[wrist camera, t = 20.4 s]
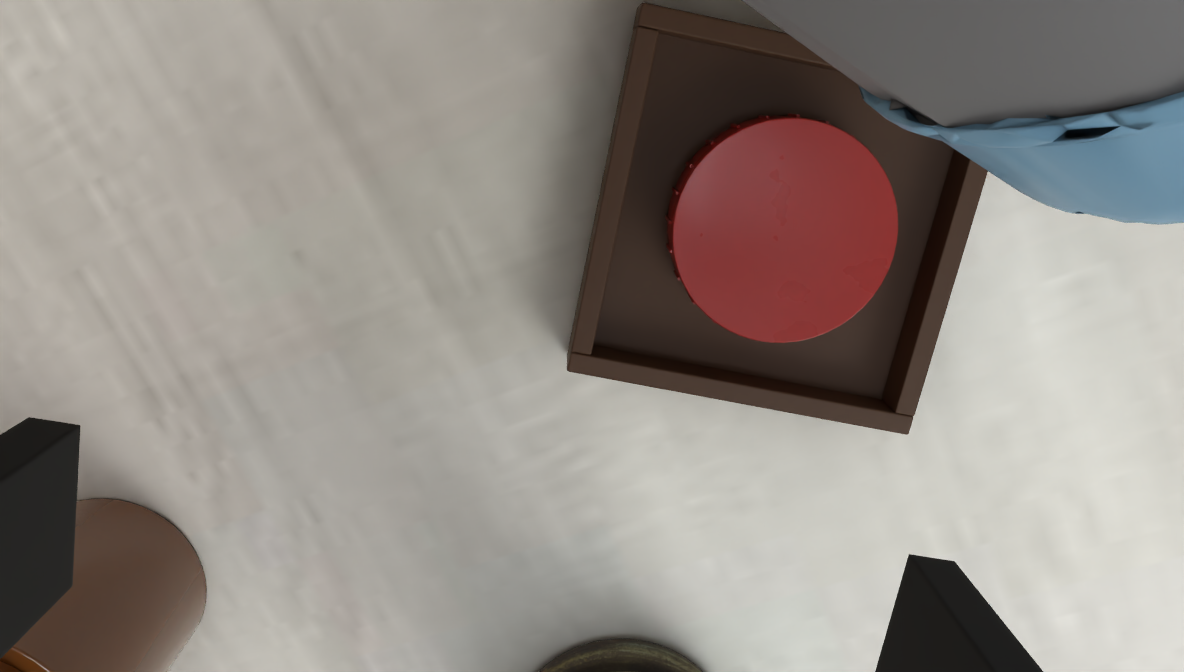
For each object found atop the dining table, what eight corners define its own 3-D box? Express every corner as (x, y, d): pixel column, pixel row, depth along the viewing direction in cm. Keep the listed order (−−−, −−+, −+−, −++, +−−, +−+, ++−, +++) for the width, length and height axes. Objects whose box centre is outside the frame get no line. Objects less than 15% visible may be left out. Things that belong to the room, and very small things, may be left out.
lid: (847, 349, 34) (862, 365, 32) (643, 306, 33) (647, 320, 31) (909, 140, 32) (929, 144, 30) (694, 91, 32) (702, 92, 30)
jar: (22, 482, 35) (-206, 647, 25) (216, 515, 35) (72, 691, 25) (12, 649, 37) (-204, 869, 26) (197, 679, 37) (55, 905, 27)
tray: (637, 6, 31) (641, 1, 29) (988, 82, 32) (1015, 82, 30) (566, 355, 34) (566, 371, 32) (890, 416, 35) (908, 435, 33)
